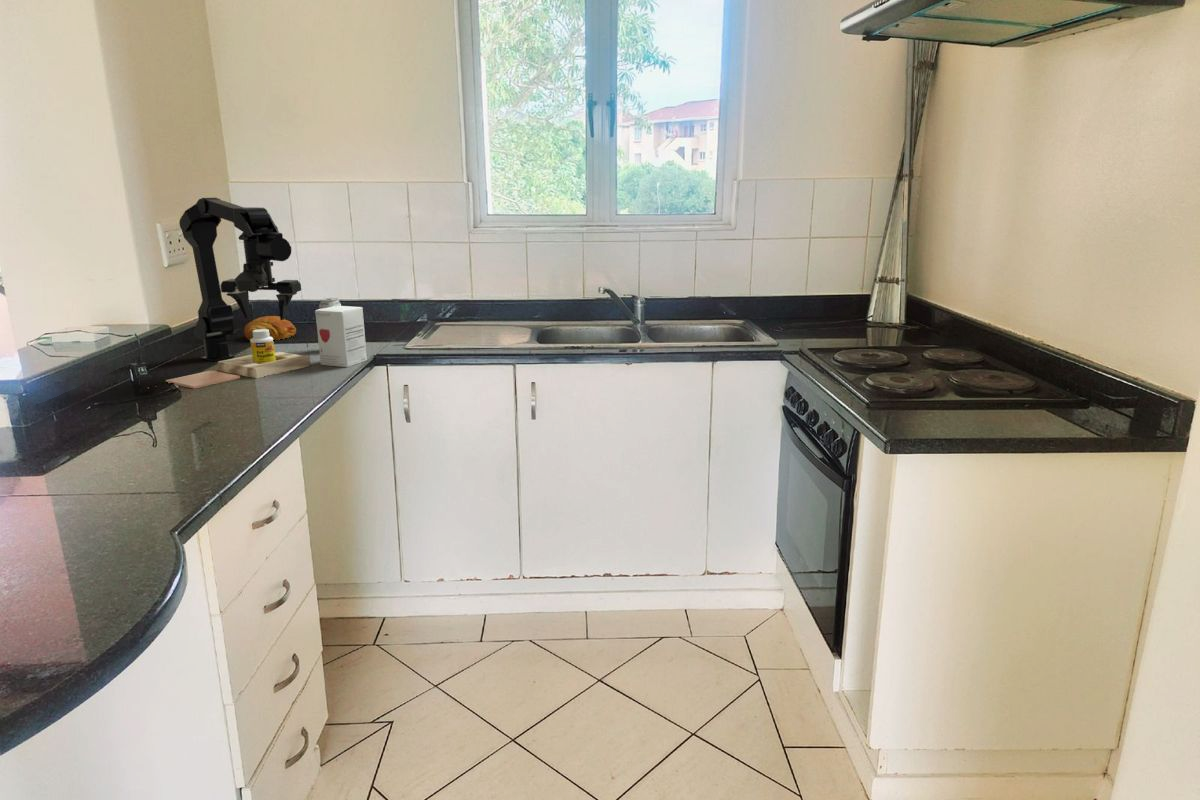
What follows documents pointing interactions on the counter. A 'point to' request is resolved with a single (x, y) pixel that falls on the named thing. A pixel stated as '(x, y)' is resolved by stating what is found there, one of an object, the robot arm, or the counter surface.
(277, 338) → the croissant
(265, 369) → the board
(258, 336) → the supplement bottle
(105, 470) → the counter surface
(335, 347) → the supplement box
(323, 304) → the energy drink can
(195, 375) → the terracotta tile
